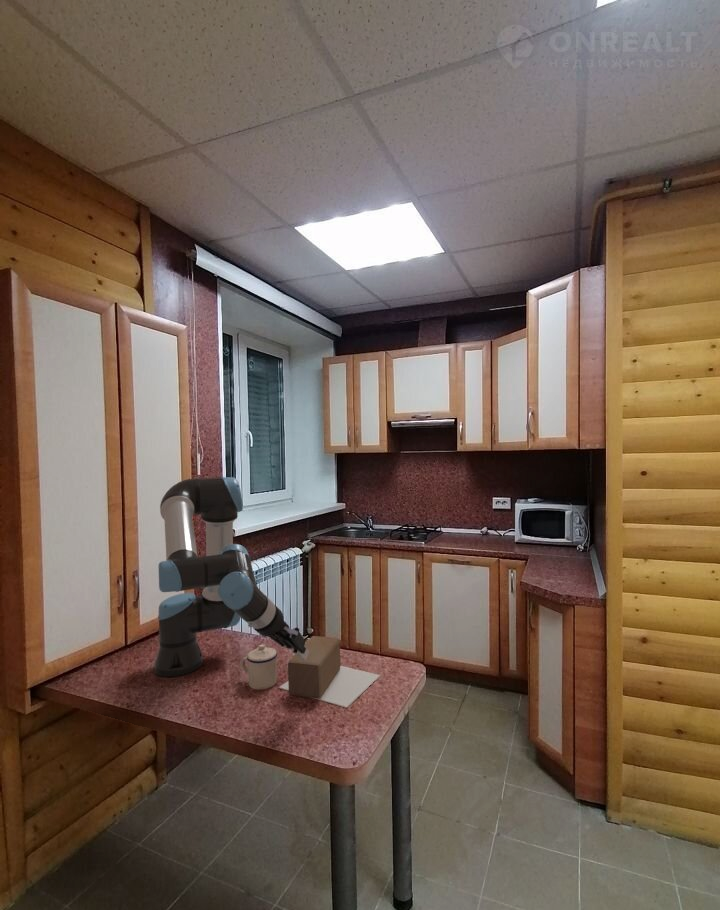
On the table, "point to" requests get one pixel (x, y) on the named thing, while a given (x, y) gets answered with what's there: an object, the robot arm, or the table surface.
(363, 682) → the mat
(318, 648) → the block
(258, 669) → the teacup with lid
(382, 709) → the table surface
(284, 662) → the table surface
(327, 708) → the table surface
